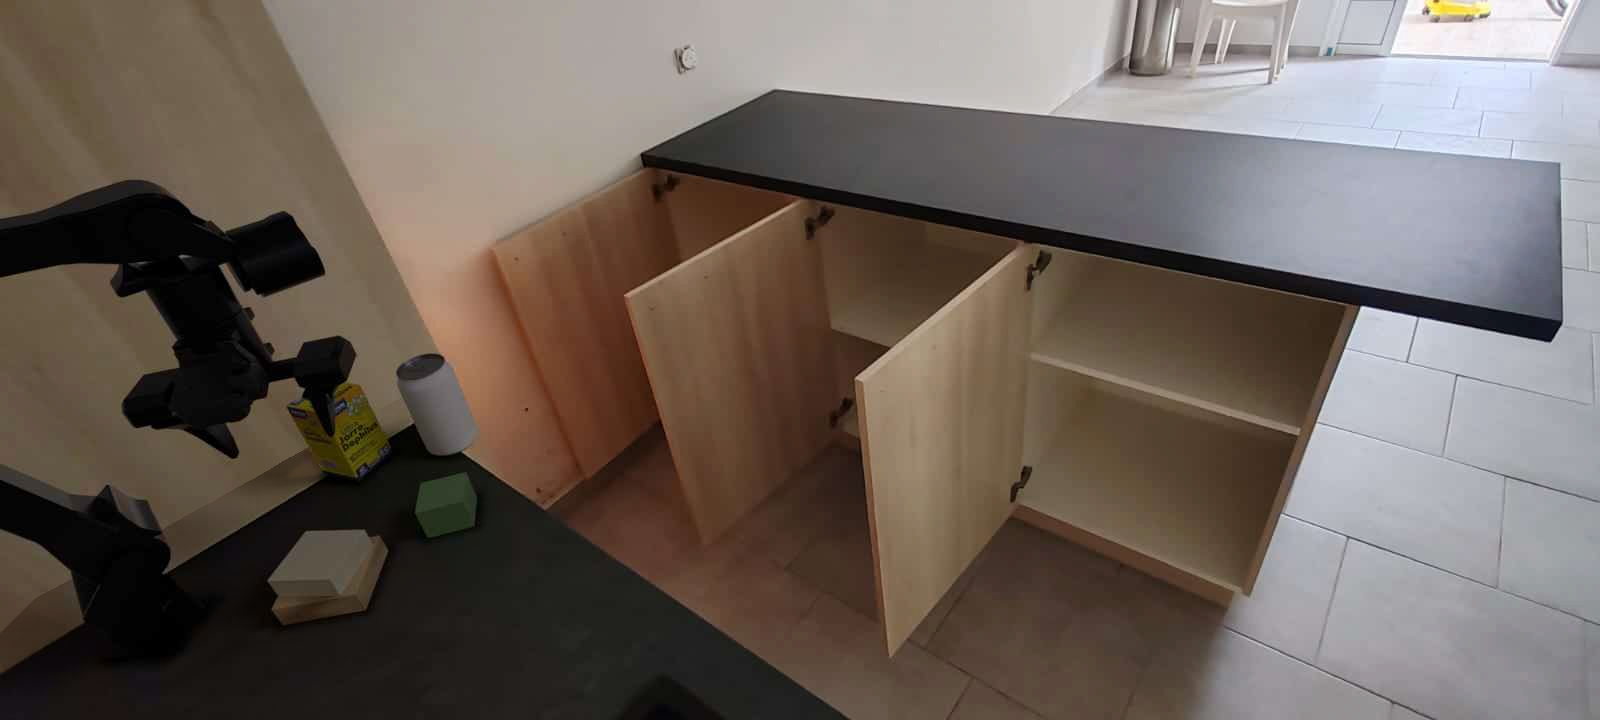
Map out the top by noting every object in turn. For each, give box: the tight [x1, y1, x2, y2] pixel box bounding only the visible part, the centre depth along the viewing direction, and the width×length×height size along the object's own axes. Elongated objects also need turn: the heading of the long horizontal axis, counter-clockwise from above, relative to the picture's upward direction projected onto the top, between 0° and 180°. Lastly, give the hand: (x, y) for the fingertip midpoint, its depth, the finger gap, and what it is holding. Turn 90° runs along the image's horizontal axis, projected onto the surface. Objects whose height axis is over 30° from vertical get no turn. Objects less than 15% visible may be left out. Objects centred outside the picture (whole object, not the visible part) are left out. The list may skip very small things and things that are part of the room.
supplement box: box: [285, 381, 394, 482], centre depth 92 cm, size 6×6×11 cm
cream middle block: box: [267, 529, 374, 597], centre depth 76 cm, size 6×6×2 cm
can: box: [395, 352, 479, 457], centre depth 94 cm, size 6×6×12 cm
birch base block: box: [271, 535, 389, 626], centre depth 77 cm, size 8×8×2 cm
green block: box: [414, 471, 478, 539], centre depth 84 cm, size 5×5×4 cm
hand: (285, 445), depth 77 cm, fingers open, 9 cm apart
